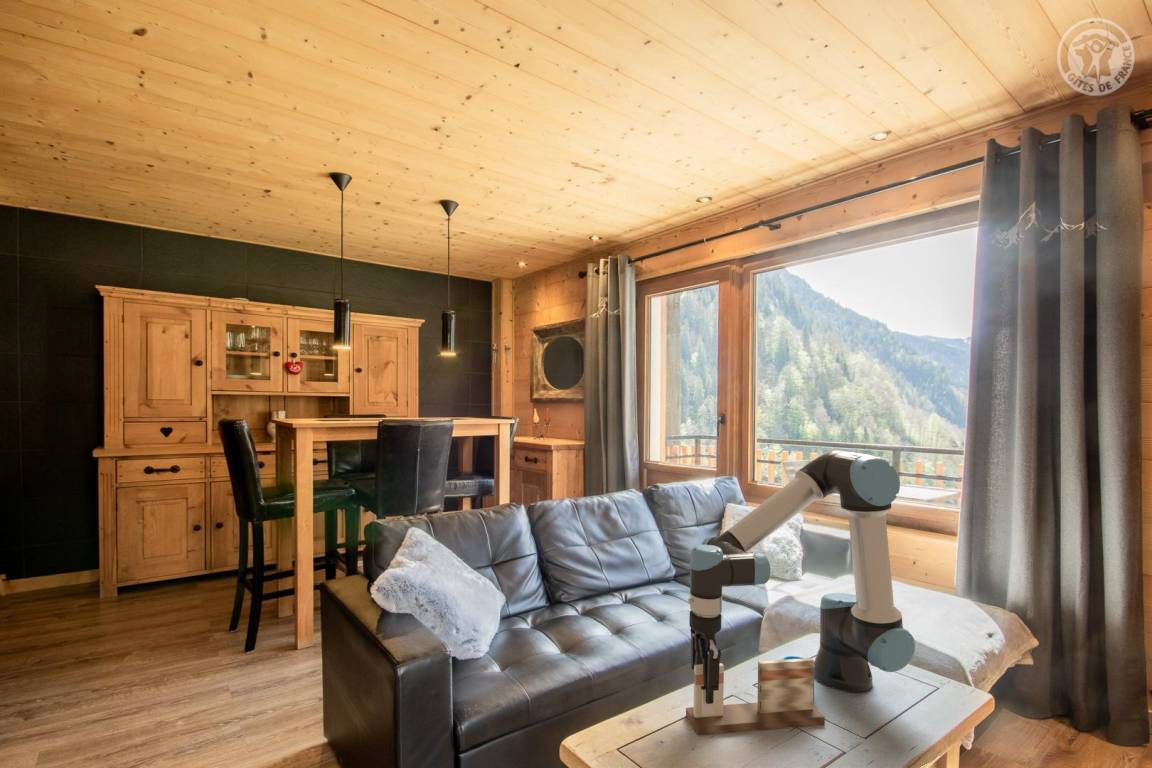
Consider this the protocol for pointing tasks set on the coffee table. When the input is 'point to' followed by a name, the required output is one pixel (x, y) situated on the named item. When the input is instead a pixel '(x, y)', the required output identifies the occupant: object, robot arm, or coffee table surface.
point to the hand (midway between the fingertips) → (703, 709)
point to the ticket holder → (769, 702)
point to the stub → (698, 692)
